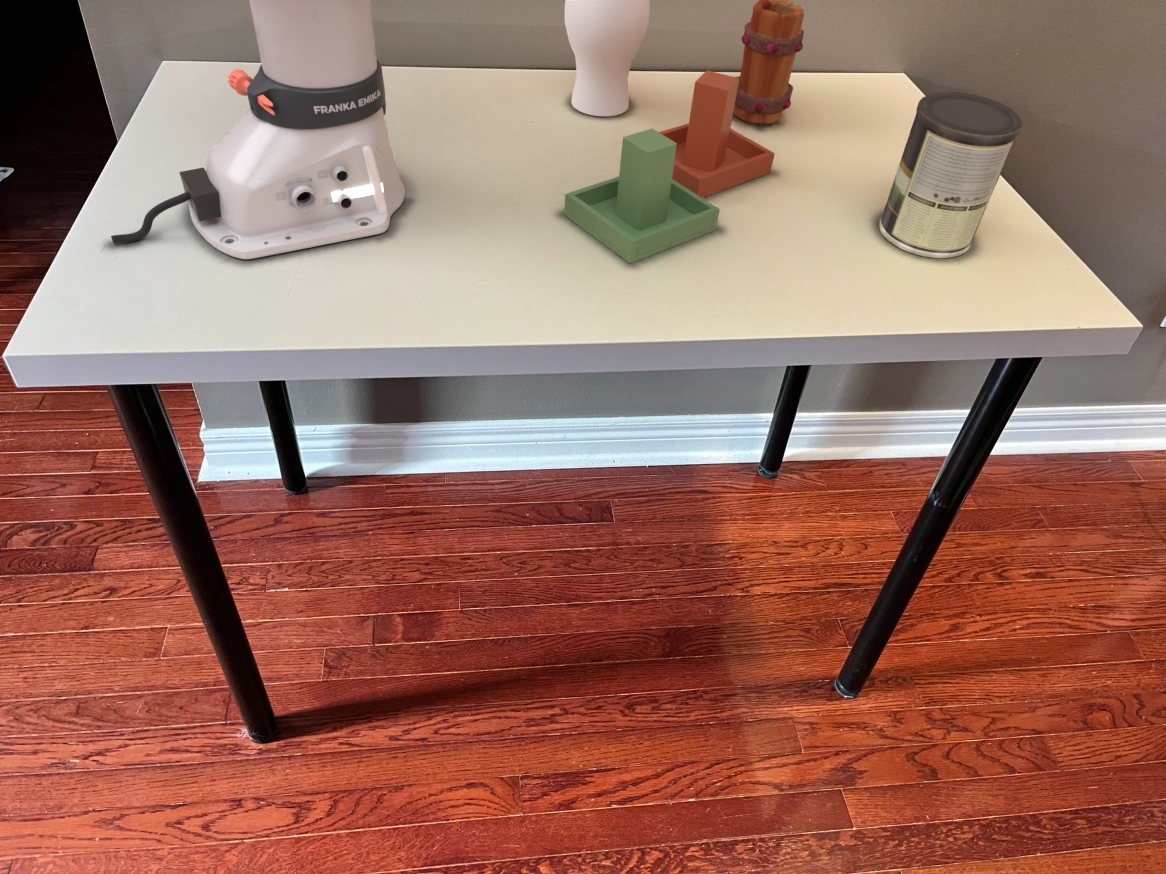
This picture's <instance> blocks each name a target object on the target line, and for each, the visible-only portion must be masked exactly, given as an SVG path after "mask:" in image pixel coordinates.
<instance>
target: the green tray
mask: <svg viewBox="0 0 1166 874" xmlns="http://www.w3.org/2000/svg"><path fill="white" fill-rule="evenodd" d="M618 183H619V175H618V176H616V177H613V178H609V179H606V180H604V181H600V182H596V183H594V184H592V185H588V186H584V187H582V188H579V189H576V190H573V191H570V192H567V193H565V195H564V211H563V212H564V216H565V217H566V218H568V219H569V220H570V221H572V222H573V223H574V224H576V225H577V226H579V227H580V228H581V229H583V230H584V231H585V232H587V234H589V235H591V236H592V237H593V238H594V239H596V240H598V242H600V243H601V244H602V245H604V246H606V247H607V248H608V249H610V250H611V251H612V252H613V253H614V254H616V255H618V256H619V257H621V259H623V260H624V261H625V262H627V263H628V264H630V265H631V264H633V263H636V262H638V261H641V260H644V259H646V258H648V257H651V256H653V255H656V254H658V253H661V252H664V251H666V250H669V249H671V248H673V247H677V246H679V245H681V244H684V243H686V242H689V241H691V240H694V239H697V238H699V237H703V236H705V235H707V234H709V233H712V232H714V231H717V227H718V220H719V216H720V208H719V207H717V206H716V205H714V204H712V203H711V202H709V201H708V200H706V199H705V198H704V197H703V198H701V197H700V196H698V195H697V194H695V193H693V192H692V191H690V190H689V189H687V188H686V187H684V186H682V185H681V184H679V183H678V182H676V181H675V180H673V179H672V181H671V188H670V195H669V202H668V209H667V216H666V221H663V222H661V223H658V224H655V225H653V226H650V227H647V228H645V229H642V230H639V231H638V230H637V229H635V228H634V227H633V226H631V225H630V224H628V223H627V222H625V221H624V220H623V219H621V218H620V217H618V216H617V215H616V204H617V193H618Z"/></svg>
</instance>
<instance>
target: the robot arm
mask: <svg viewBox="0 0 1166 874" xmlns="http://www.w3.org/2000/svg"><path fill="white" fill-rule="evenodd" d="M248 2H249V7H250V12H251V16H252V22H253V27H254V32H255V37H256V41H257V42H256V43H257V48H258V52H259V58H260V63H261V64H260V66H259V68H258V71H257V73H256V74H255V76H254V77H253V78H252V77H251V76H250V75H248V73H247V72H245V71H244V70H243V69H239V68H237V69H236V68H235V69H233V70H232V71H230V72H229V75H228V76H227V79H228V80H227V82H228V83H229V86H230V88H232V89H233V90H234V91H235V92H236V93H237V94H238V95H240V96H245V97H246V96H247V99H248V104H249V108H250V109H248V111H246V113H245V114H244V115H242V117H241V118H240V119H239V120H238V121H237V122H236V123H235V124H234V126H233V127H232V128H231V129H230V130H229V131H228V132H227V133H226V134H225V135H224V136H223V137H222V138H221V139H220V140H219V141H218V142H216V144H215V145H214V146H212V148H211V149H210V150H209V152H208V153H207V156H206V157H207V158H206V163H205V168H204V167H199V168H198V167H197V168H193V169H188V170H184V171H179V176H180V179H181V183H182V187H183V190H184V192H183V193H180V194H178V195H176V196H173V197H171V198H168V199H167V200H163V201H162V202H159V203H158V204H156V205H154V207H152V208H151V209H150V210H148V212H147V213H146V214H145V216H144V218H143V222H142V226H141V227H140V229H138V230H137V231H134V232H132V233H125V234H123V233H121V234H114V235H111V236H110V238H111V240H112V243H113V245H115V244H123V243H132V242H138V241H139V240H142V239H144V238H145V237H147V236H148V235H149V234H150V232H151V230H152V226H153V223H154V220H155V219H156V218H157V217H158V216H159V215H161V214H162V213H164V212H165V211H167V210H168V209H171V208H173V207H176V206H178V205H181V204H183V203H185V202H188V204H189V205H188V208H189V214H190V215H189V216H190V218H191V222H192V223H193V225H194V228H195V229H196V230H197V232H198V233H199V235H200V236H202V238H203V239H204V240H205V241H206V242H208V244H209V245H211V246H212V247H213V248H216V250H218V251H219V252H222V253H224V254H225V255H228V256H231V257H233V258H237V259H241V260H252V259H259V258H264V257H268V256H274V255H279V254H283V253H289V252H294V251H299V250H304V249H308V248H315V247H319V246H325V245H331V244H334V243H335V244H336V243H340V242H345V241H351V240H356V239H360V238H365V237H366V238H367V237H371V236H376V235H381V234H383V233H385V232H387V230H388V229H389V226H390V221H391V217H392V215H393V214H394V213H395V212H396V211H398V209H399V208H400V207H401V205H402V204H403V202H404V200H405V198H406V188H405V185H404V183H403V181H402V178H401V176H400V173H399V171H398V168H397V164H396V162H395V159H394V155H393V152H392V148H391V147H392V146H391V144H390V138H389V134H388V129H387V125H386V124H387V123H386V118H385V116H386V113H387V102H386V87H385V81H384V75H383V66H382V64H381V63H380V61H379V59H378V58H377V47H376V39H375V27H374V17H373V9H372V8H373V7H372V0H248Z"/></svg>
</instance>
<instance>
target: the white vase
mask: <svg viewBox="0 0 1166 874" xmlns="http://www.w3.org/2000/svg"><path fill="white" fill-rule="evenodd" d="M650 5H651V4H650V0H565V2H564V20H563V21H564V25H565V30H566V34H567V39H568V43H569V45H570V48H571V50H572V53H573V54H574V58H575V72H576V75H575V80H574V85H573V88H572V93H571V99H570V102H571V105H572V107H573V108H574V109H575V110H577V111H578V112H580V113H583V114H586V115H590V116H594V117H595V116H596V117H614V116H618V115H621V114H623V113H625V112H626V111H627V110H628V109H629V106H630V94H629V81H628V79H629V75H630V71H631V66H632V61H633V60H634V58H635V57H636V55H637V53H638V52H639V50H640V49H641V47H642V44H643V42H644V40H645V36H646V33H647V32H648V28H649V23H650V14H651V6H650Z"/></svg>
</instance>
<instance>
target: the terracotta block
mask: <svg viewBox="0 0 1166 874" xmlns="http://www.w3.org/2000/svg"><path fill="white" fill-rule="evenodd" d="M736 77H737V76H732V75H728V74H724V73H721V72H720V73H719V72H715V71H712V70H708V69H707V70H705V72H704V73H703V74H702V75H700V77H698V78H697V79H696V81H694V86H693V92H692V98H691V99H692V101H691V106H690V112H689V120H688V123H689V126H688V132H687V139H686V145H685V152H684V159H683V164H684V165H687V166H691V167H695V168H698V169H702V170H705V171H709V172H712V171H715V170H716V169H717V168H718V167H719V165H720V164H721V163H722V162H723V160H724V159H725V153H726V148H727V143H728V137H729V132H730V129H731V127H732V120H733V116H734V105H735V100H736V94H737V89H738V84H739V78H736Z"/></svg>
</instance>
